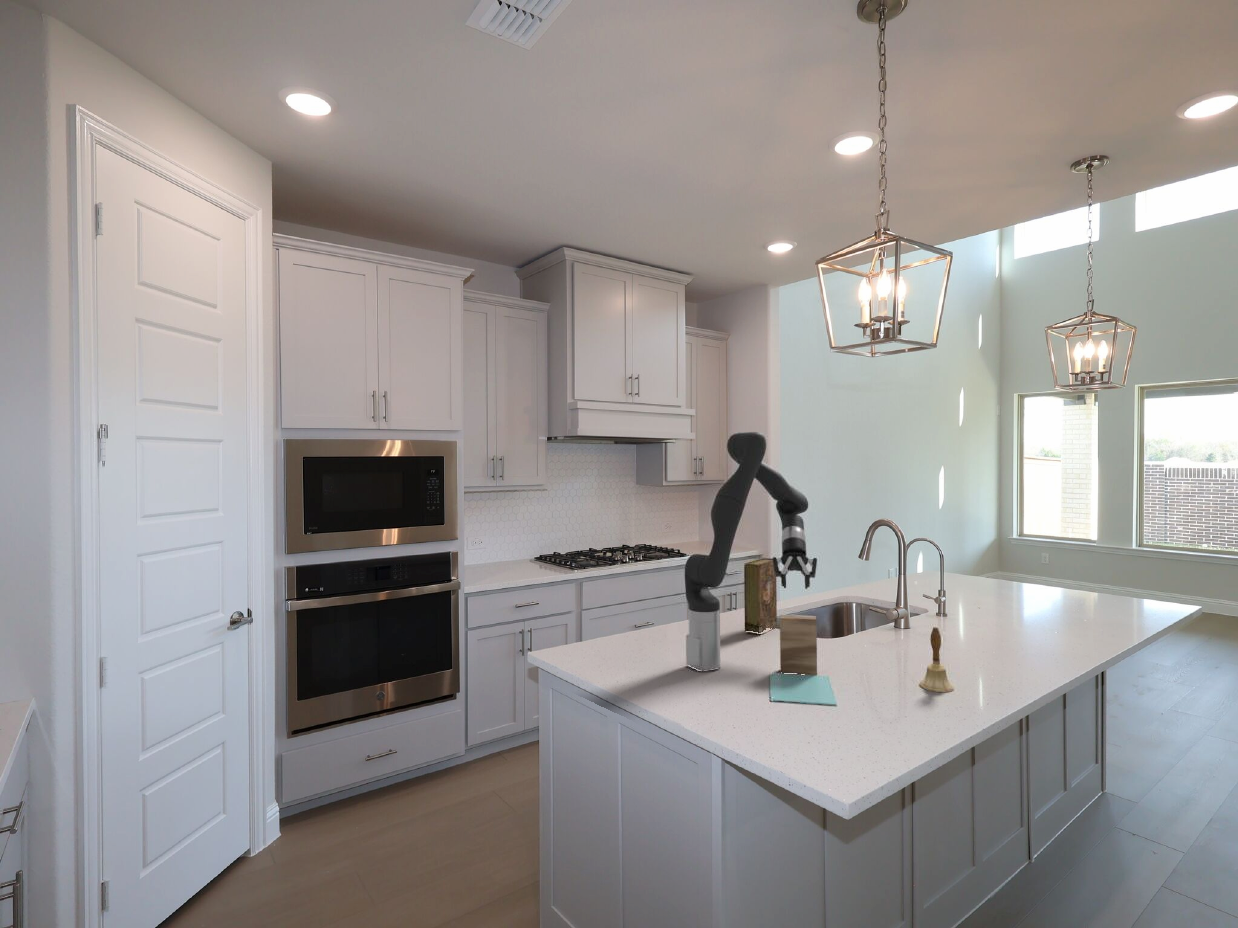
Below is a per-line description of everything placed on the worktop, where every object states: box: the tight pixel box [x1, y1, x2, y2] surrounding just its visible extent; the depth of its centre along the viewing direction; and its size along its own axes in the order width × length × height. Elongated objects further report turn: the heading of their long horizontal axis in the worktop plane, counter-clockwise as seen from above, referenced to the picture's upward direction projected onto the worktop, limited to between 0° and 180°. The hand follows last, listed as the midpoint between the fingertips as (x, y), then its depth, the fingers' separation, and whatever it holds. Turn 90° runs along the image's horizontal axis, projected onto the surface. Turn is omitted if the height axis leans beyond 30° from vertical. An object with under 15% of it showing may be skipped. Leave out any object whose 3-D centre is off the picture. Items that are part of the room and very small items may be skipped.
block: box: [779, 614, 818, 675], centre depth 188 cm, size 4×10×16 cm, turn 77°
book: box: [743, 557, 778, 633], centre depth 237 cm, size 16×6×25 cm, turn 143°
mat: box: [769, 672, 838, 707], centre depth 174 cm, size 22×16×1 cm
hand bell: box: [919, 626, 955, 693], centre depth 175 cm, size 8×8×16 cm
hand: (795, 586), depth 200 cm, fingers open, 5 cm apart
